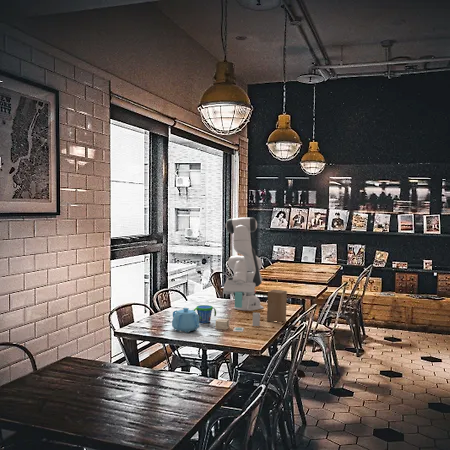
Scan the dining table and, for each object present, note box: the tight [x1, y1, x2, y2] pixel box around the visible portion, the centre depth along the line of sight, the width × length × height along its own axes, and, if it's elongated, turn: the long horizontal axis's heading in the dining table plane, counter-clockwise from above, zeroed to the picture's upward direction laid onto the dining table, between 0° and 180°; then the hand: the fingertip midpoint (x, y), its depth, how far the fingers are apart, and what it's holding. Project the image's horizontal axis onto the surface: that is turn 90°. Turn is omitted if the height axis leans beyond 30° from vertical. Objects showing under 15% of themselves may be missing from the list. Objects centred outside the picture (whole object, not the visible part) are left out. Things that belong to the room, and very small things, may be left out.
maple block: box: [214, 318, 230, 330], centre depth 315 cm, size 7×7×5 cm
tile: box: [232, 327, 245, 333], centre depth 311 cm, size 9×6×1 cm, turn 174°
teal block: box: [234, 292, 242, 308], centre depth 321 cm, size 4×4×9 cm
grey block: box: [252, 312, 261, 326], centre depth 323 cm, size 4×4×8 cm
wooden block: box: [266, 289, 288, 323], centre depth 337 cm, size 10×10×20 cm
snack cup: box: [193, 304, 217, 324], centre depth 329 cm, size 16×10×10 cm
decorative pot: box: [171, 307, 201, 334], centre depth 307 cm, size 16×16×14 cm
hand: (238, 299), depth 320 cm, fingers closed on teal block, 4 cm apart
